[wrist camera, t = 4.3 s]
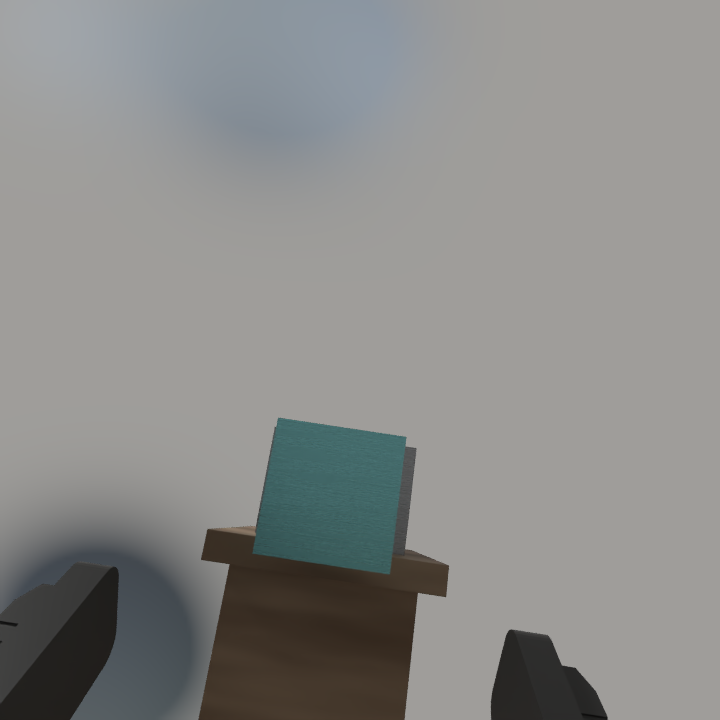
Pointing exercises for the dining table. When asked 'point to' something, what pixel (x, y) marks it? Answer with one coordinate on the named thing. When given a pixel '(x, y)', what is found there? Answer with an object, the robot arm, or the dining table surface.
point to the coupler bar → (335, 496)
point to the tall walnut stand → (312, 635)
